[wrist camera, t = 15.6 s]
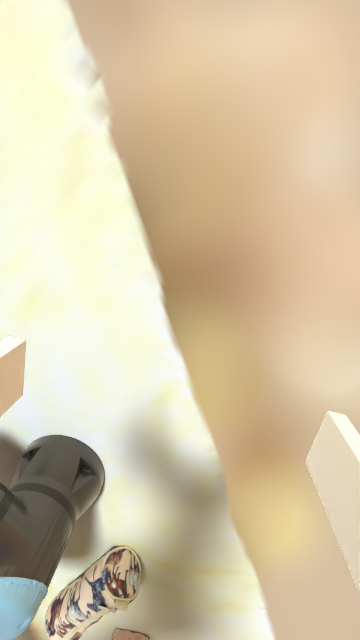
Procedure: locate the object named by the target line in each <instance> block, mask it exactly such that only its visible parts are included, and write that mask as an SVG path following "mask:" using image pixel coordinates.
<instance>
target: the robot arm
mask: <svg viewBox="0 0 360 640" xmlns="http://www.w3.org/2000/svg"><path fill="white" fill-rule="evenodd" d="M25 349H26V340H24V339H19V338H15V337H11V336H8V337H6V338H4V339H3V340H1V341H0V416H2V415H3V414H4V413H5V412H6V411H7V410H8V409H9V408H10V407H11V406H12V405H13V404H14V403H15V402H16V401H17V400H18V399H19V398H20V397H21V396H22V395H23V383H24V366H25ZM305 462H306V464H307V467H308V470H309V472H310V474H311V477H312V479H313V482H314V484H315V487H316V489H317V492H318V494H319V497H320V499H321V501H322V504H323V506H324V509H325V511H326V514H327V516H328V519H329V521H330V523H331V526H332V528H333V531H334V534H335V536H336V538H337V541H338V543H339V546H340V548H341V551H342V553H343V555H344V558H345V560H346V563H347V566H348V568H349V570H350V573H351V575H352V578H353V580H354V583H355V585H356V587H357V590H358V592H359V595H360V435H359V434H358V432H357V431H356V430H355V428H354V427H353V425H352V424H351V422H350V421H349V420H348V418H347V417H346V415H343V414H339V413H335V412H330V411H327V413H326V416H325V418H324V420H323V422H322V425H321V427H320V429H319V432H318V434H317V436H316V438H315V440H314V443H313V445H312V447H311V449H310V452H309V454H308V456H307V458H306V461H305ZM103 482H104V468H103V465H102V463H101V461H100V459H99V457H98V456H97V455H96V453H95V452H94V451H93V450H92V449H91V448H89V447H88V446H87V445H85V444H84V443H82V442H80V441H78V440H76V439H74V438H71V437H67V436H62V435H49V436H44V437H41V438H39V439H37V440H35V441H34V442H32V443H31V444H30V445H29V446H28V447H27V449H26V450H25V451H24V453H23V454H22V455H21V457H20V459H19V461H18V463H17V466H16V469H15V472H14V475H13V478H12V481H11V485H10V488H9V490H8V489H7V488H6V487H5V486H4V485H3V484H2V483H0V640H14V639H16V638H17V637H19V636H20V635H21V634H22V633H24V631H25V630H26V629H27V628H28V627H29V626H30V624H31V622H32V620H33V618H34V616H35V614H36V612H37V610H38V608H39V606H40V604H41V602H42V601H43V599H44V598H45V596H46V594H47V592H48V587H49V584H50V582H51V580H52V577H53V575H54V573H55V570H56V568H57V566H58V563H59V561H60V558H61V556H62V554H63V551H64V549H65V547H66V544H67V542H68V540H69V537H70V535H71V532H72V530H73V528H74V525H75V523H76V522H77V521H78V520H79V518H80V517H81V516H82V515H83V514H84V513H85V512H86V510H87V509H88V508H89V507H90V506H91V505H92V503H93V502H94V501H95V500H96V498H97V497H98V495H99V493H100V490H101V488H102V485H103Z"/></svg>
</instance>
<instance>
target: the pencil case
mask: <svg viewBox="0 0 360 640" xmlns="http://www.w3.org/2000/svg"><path fill="white" fill-rule="evenodd" d="M140 579H141V566H140V561H139V559H138V557H137V555H136V553H135V552H134V551H133V550H132V549H131V548H130V547H128V546H119V547H115V548H113V549H111V550H110V551H108V552H107V553H106V554H105V555H104V556H103V557H101V558H100V559H99V560H98V561H97V562H95V563H94V564H93V565H92V566H91V567H90V568H89V569H87V571H85V572H84V573H83V574H82V575H80V576H79V577H78V578H77V579H76V580H75V581H74V582H73V583H71V584H70V585H68V586H67V587H66V588H65V589H64V590H63V591H62V592H61V593H60V594H58V595H57V596H56V597H55V598H54V600H53V601H52V602H51V604H50V605H49V607H48V609H47V612H46V616H45V629H46V633H47V636H48V638H49V639H50V640H78V639H79V638H80V637H81V635H82V633H84V632H85V631H86V629H87V628H88V627H89V626H91V625H92V624H94V623H96V622H97V621H99V619H100V618H101V617H102V616H103V615H104V614H107V613H109V612H111V611H112V613H115V611H116V610H117V609H121V610H124V611H127V605H128V604H129V603H130V602H131V601H133V600H134V599H135V597H136V596H137V593H138V590H139V586H140Z"/></svg>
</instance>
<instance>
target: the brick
mask: <svg viewBox="0 0 360 640" xmlns="http://www.w3.org/2000/svg"><path fill="white" fill-rule="evenodd" d="M112 640H149V638H148V637H146V636H145V635H142V634H140V633H136V632H135V633H134V632H130V631H129V630H125V631H124V630H120V629H115V630H114V632H113V635H112Z"/></svg>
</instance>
